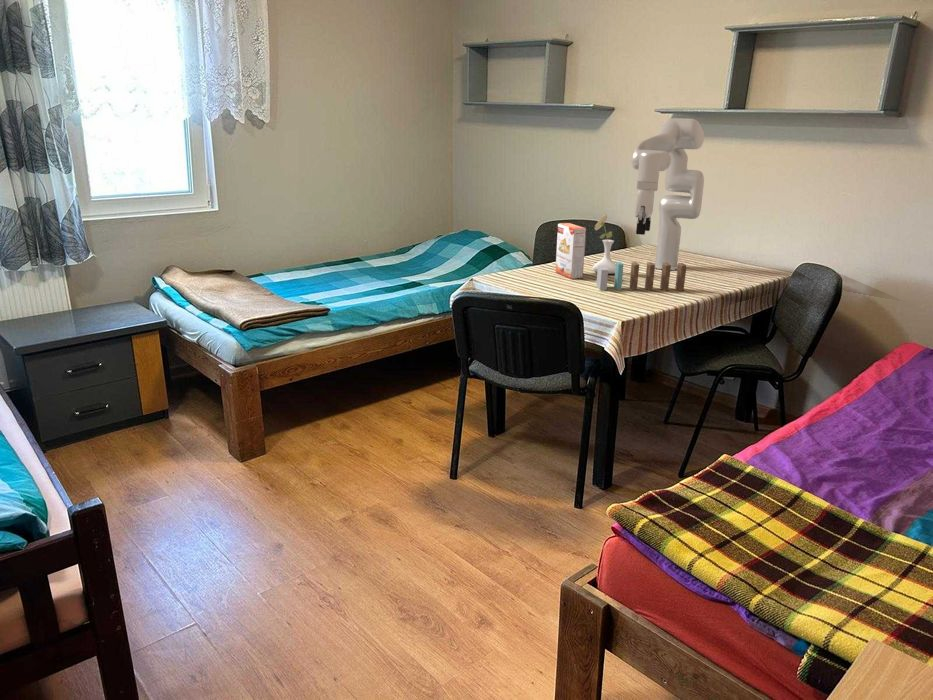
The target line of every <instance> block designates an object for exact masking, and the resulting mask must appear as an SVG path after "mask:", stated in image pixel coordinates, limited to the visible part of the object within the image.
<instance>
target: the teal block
mask: <svg viewBox="0 0 933 700" xmlns="http://www.w3.org/2000/svg"><path fill="white" fill-rule="evenodd" d="M615 264H616V269H615V273H614V281H613V288H614V287H615V288H616V289H615V288H614V289H615V290H616V291H622V288H623V287H622V286H623V277H624V276H623V274H624V273H623V272H624V264H623V262H621V261H616V262H615Z"/></svg>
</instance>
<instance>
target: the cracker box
mask: <svg viewBox="0 0 933 700" xmlns="http://www.w3.org/2000/svg"><path fill="white" fill-rule="evenodd" d="M586 235H587V228H586V227H584V226H580V225H577V224H573V223H571V222H560V223H558V224H557V236H556V254H555V257H556V258H555V273H557V274H559V275H561V276H563V277H564V278H568V279H570V280H576V279H577V278H579V279H583V278H584V267H585V266H584V264H585V254H586V253H585V251H586V249H585V248H586V239H587V238H586V237H587V236H586ZM577 280H578V279H577Z"/></svg>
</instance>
